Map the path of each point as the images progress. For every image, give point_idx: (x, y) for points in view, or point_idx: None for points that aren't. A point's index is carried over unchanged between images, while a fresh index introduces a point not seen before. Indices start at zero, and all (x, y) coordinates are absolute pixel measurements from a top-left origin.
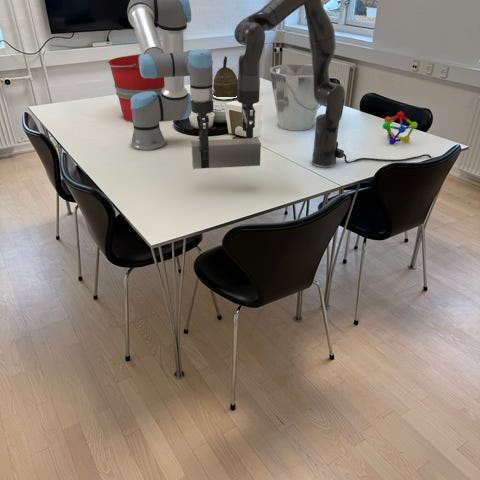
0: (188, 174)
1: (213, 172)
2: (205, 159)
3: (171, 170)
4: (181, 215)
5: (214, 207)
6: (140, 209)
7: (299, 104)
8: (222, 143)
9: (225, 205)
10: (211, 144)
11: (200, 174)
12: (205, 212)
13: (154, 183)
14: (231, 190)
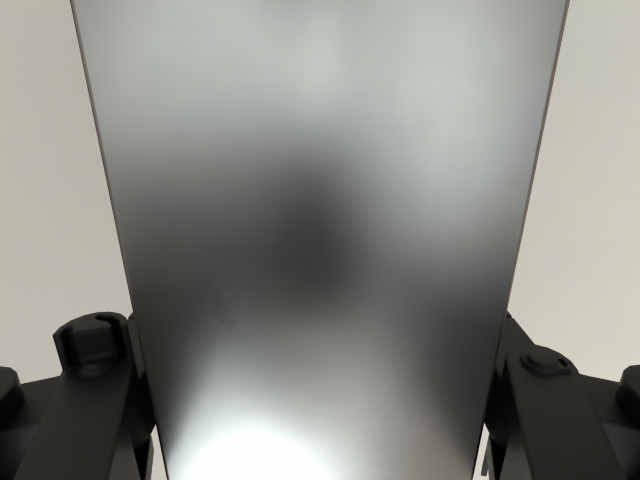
0: (94, 275)
1: (44, 112)
2: None
3: (45, 359)
4: (600, 326)
5: (579, 157)
6: (480, 469)
7: None
8: (442, 37)
9: (579, 83)
10: (452, 330)
11: (88, 205)
12: (618, 212)
13: None
14: None
